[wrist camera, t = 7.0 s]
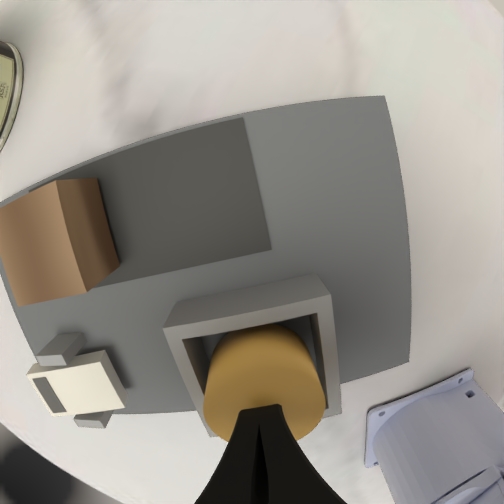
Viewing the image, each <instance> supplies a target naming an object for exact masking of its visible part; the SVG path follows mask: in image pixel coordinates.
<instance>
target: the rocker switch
mask: <svg viewBox="0 0 504 504" xmlns="http://www.w3.org/2000/svg"><path fill="white" fill-rule="evenodd" d="M26 375H27V377H28V379H29V380H30V382H31V384H32V385H33V387H34V389H35V390H36V392H37V394H38V395H39V397H40V398H41V400H42V402H43V403H44V405H45V406H46V408H47V409H48V411H49V412H50V414H51V415H52V417H54V416H66V415H76V414H85V413H93V412H101V411H108V410H114V409H121V408H125V405H126V400H127V395H128V394H127V392H126V391H125V389H124V387H123V385H122V383H121V381H120V379H119V377H118V375H117V373H116V372H115V370H114V368H113V365H112V363H111V361H110V359H109V357H108V355H107V353H106V351H105V350H102V351H97V352H92V353H88V354H83V355H78V356H74V357H73V359H72V360H71V361H70V362H69V363H68V365H63V366H40V364H39V363H35V364H33V366H32V367H31V368H30V370H29V371H28V373H27V374H26Z"/></svg>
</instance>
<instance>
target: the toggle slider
mask: <svg viewBox="0 0 504 504" xmlns="http://www.w3.org/2000/svg"><path fill="white" fill-rule="evenodd" d="M0 255H1V259H2V262H3V265H4V268H5V272H6V275H7V278H8V281H9V284H10V286H11V289H12V292H13V295H14V297H15V300H16V303H17V305H18V307H20V306H25V305H30V304H35V303H40V302H44V301H49V300H54V299H59V298H64V297H69V296H74V295H78V294H83V293H87V292H88V291H90V290H91V289H92V288H93V287H95V286H96V285H97V284H98V283H100V282H101V281H102V280H103V279H105V278H106V277H107V276H108V275H110V274H111V273H112V272H113V271H115V270H116V269H117V268H119V267H120V264H119V261H118V258H117V254H116V251H115V248H114V244H113V241H112V237H111V234H110V230H109V226H108V223H107V219H106V215H105V211H104V207H103V203H102V199H101V194H100V190H99V185H98V181H97V178H83V179H68V180H55V181H53V182H51V183H49V184H47V185H44V186H42V187H40V188H38V189H36V190H34V191H32V192H30V193H28V194H26V195H24V196H22V197H20V198H18V199H16V200H14V201H12V202H10V203H8V204H7V205H5V206H3V207H1V208H0Z"/></svg>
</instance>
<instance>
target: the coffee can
mask: <svg viewBox="0 0 504 504" xmlns="http://www.w3.org/2000/svg"><path fill="white" fill-rule="evenodd" d="M22 77H23V70H22V61H21V58H20V54H19V52H18V50H17V49H16V48H15V47H14V46H13V45H12V44H10V43H6V42H2V41H0V151H1V149H2V147H3V145H4V143H5V141H6V139H7V137H8V134H9V132H10V130H11V127H12V124H13V121H14V119H15V115H16V111H17V107H18V104H19V100H20V94H21V89H22Z"/></svg>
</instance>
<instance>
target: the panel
mask: <svg viewBox="0 0 504 504" xmlns="http://www.w3.org/2000/svg"><path fill="white" fill-rule="evenodd" d="M83 178H97V181H98V185H99V190H100V194H101V199H102V203H103V207H104V211H105V215H106V219H107V223H108V226H109V230H110V234H111V237H112V241H113V244H114V248H115V251H116V254H117V258H118V261H119V264H120V267H119V268H117V269H116V270H115V271H113V272H112V273H111V274H110V275H108V276H107V277H106V278H105V279H103V280H102V281H101V282H100V283H98V284H97V285H96V286H95V287H93V288H92V289H91V290H90V291H88V292H87V293H83V294H78V295H74V296H69V297H64V298H59V299H54V300H49V301H44V302H40V303H35V304H30V305H25V306H20V307H18V305H17V303H16V300H15V297H14V295H13V292H12V289H11V286H10V284H9V281H8V278H7V275H6V272H5V268H4V265H3V262H2V259H1V255H0V274H1V277H2V280H3V283H4V286H5V289H6V291H7V294H8V297H9V300H10V302H11V305H12V307H13V310H14V312H15V315H16V317H17V319H18V322H19V324H20V326H21V329H22V331H23V333H24V335H25V337H26V340H27V342H28V344H29V346H30V348H31V350H32V352H33V354H34V356H35V358H36V360H37V362H38V363H39V364H40V366H63V365H68V363H69V362H70V361H71V360H72V359H73V357H74V356H78V355H83V354H88V353H92V352H97V351H102V350H105V351H106V353H107V355H108V357H109V359H110V361H111V363H112V365H113V368H114V370H115V372H116V373H117V375H118V377H119V379H120V381H121V383H122V385H123V387H124V389H125V391H126V392H127V394H128V395H127V400H126V405H125V408H121V409H114V410H108V411H101V412H93V413H85V414H76V415H75V417H74V419H73V420H74V421H75V423H76V424H77V425H78V427H89V428H106V426H107V424H108V421H109V419H110V417H111V415H112V414H151V413H171V412H184V411H196V410H197V412H198V414H199V416H200V418H201V420H202V422H203V424H204V426H205V428H206V430H207V432H208V434H209V436H210V437H218V435H216V434H215V433H214V432H213V431H212V430H211V429H210V427H209V426H208V424H207V423H206V421H205V418H204V414H203V403H204V397H205V391H206V385H207V379H208V373H209V367H210V362H211V357H212V353H213V351H214V349H215V347H216V345H217V344H218V343H219V341H220V340H221V339H222V338H223V337H224V336H225V335H227V334H228V333H230V332H231V331H233V330H239V329H244V328H249V327H254V326H259V325H264V324H276V325H280V326H283V327H286V328H288V329H290V330H292V331H293V332H295V333H296V334H297V335H299V336H300V337H301V338H302V339H303V341H304V342H305V343H306V345H307V347H308V349H309V352H310V355H311V358H312V360H313V363H314V366H315V369H316V372H317V375H318V378H319V381H320V384H321V387H322V389H323V392H324V395H325V400H326V407H325V412H324V414H323V417H322V418H326V417H330V416H334V415H338V414H341V413H342V408H341V392H340V384H342V383H346V382H349V381H353V380H356V379H359V378H363V377H366V376H369V375H372V374H375V373H378V372H381V371H384V370H387V369H390V368H393V367H396V366H399V365H402V364H404V363H407V362H409V354H410V336H411V266H410V248H409V234H408V223H407V213H406V205H405V197H404V189H403V182H402V176H401V170H400V164H399V158H398V153H397V147H396V142H395V137H394V133H393V128H392V124H391V119H390V115H389V111H388V107H387V103H386V99H385V96H367V97H353V98H342V99H331V100H322V101H314V102H306V103H299V104H292V105H286V106H280V107H274V108H268V109H263V110H257V111H252V112H247V113H242V114H237V115H233V116H228V117H224V118H220V119H215V120H211V121H207V122H203V123H199V124H196V125H192V126H188V127H184V128H181V129H177V130H174V131H170V132H167V133H164V134H160V135H157V136H154V137H151V138H148V139H145V140H142V141H139V142H136V143H133V144H130V145H127V146H124V147H121V148H118V149H116V150H113V151H110V152H108V153H105V154H102V155H100V156H97V157H95V158H92V159H90V160H87V161H85V162H82V163H80V164H78V165H75V166H73V167H71V168H68V169H66V170H64V171H62V172H59V173H57V174H55V175H53V176H51V177H48V178H46V179H44V180H42V181H40V182H38V183H36V184H34V185H32V186H30V187H28V188H26V189H24V190H22V191H20V192H18V193H16V194H15V195H13V196H11V197H9V198H7V199H5V200H4V201H2V202H0V208H1V207H3V206H5V205H7V204H8V203H10V202H12V201H14V200H16V199H18V198H20V197H22V196H24V195H26V194H28V193H30V192H32V191H34V190H36V189H38V188H40V187H42V186H44V185H47V184H49V183H51V182H53V181H55V180H68V179H83Z"/></svg>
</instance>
